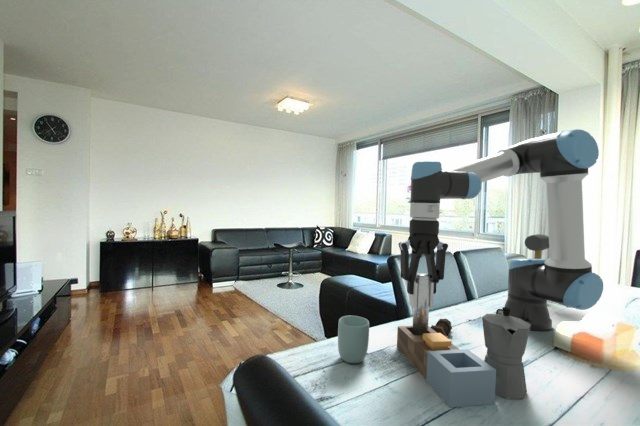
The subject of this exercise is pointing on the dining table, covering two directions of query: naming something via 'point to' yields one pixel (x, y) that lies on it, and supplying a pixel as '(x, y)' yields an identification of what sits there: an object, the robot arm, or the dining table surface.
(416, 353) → the socket block
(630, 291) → the dining table surface
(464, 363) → the block
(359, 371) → the dining table surface
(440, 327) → the bolt
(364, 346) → the cup
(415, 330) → the brushed steel rod
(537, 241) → the rubber mallet
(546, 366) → the dining table surface
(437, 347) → the release button
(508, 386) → the coffeepot
